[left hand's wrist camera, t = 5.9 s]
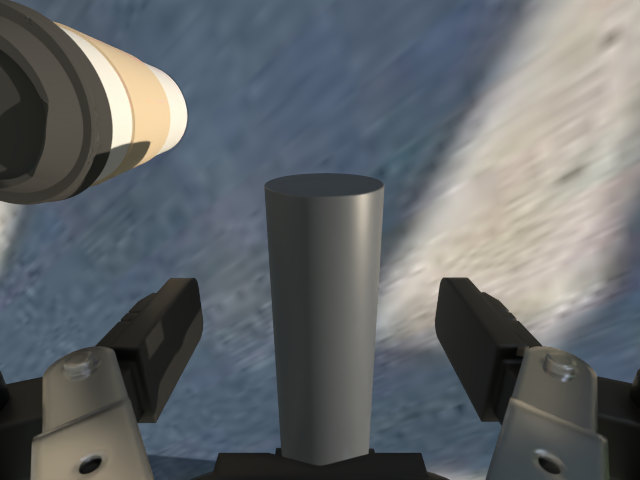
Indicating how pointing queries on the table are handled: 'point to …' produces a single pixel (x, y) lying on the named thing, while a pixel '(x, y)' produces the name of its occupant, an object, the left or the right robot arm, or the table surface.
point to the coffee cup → (75, 109)
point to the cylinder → (324, 310)
